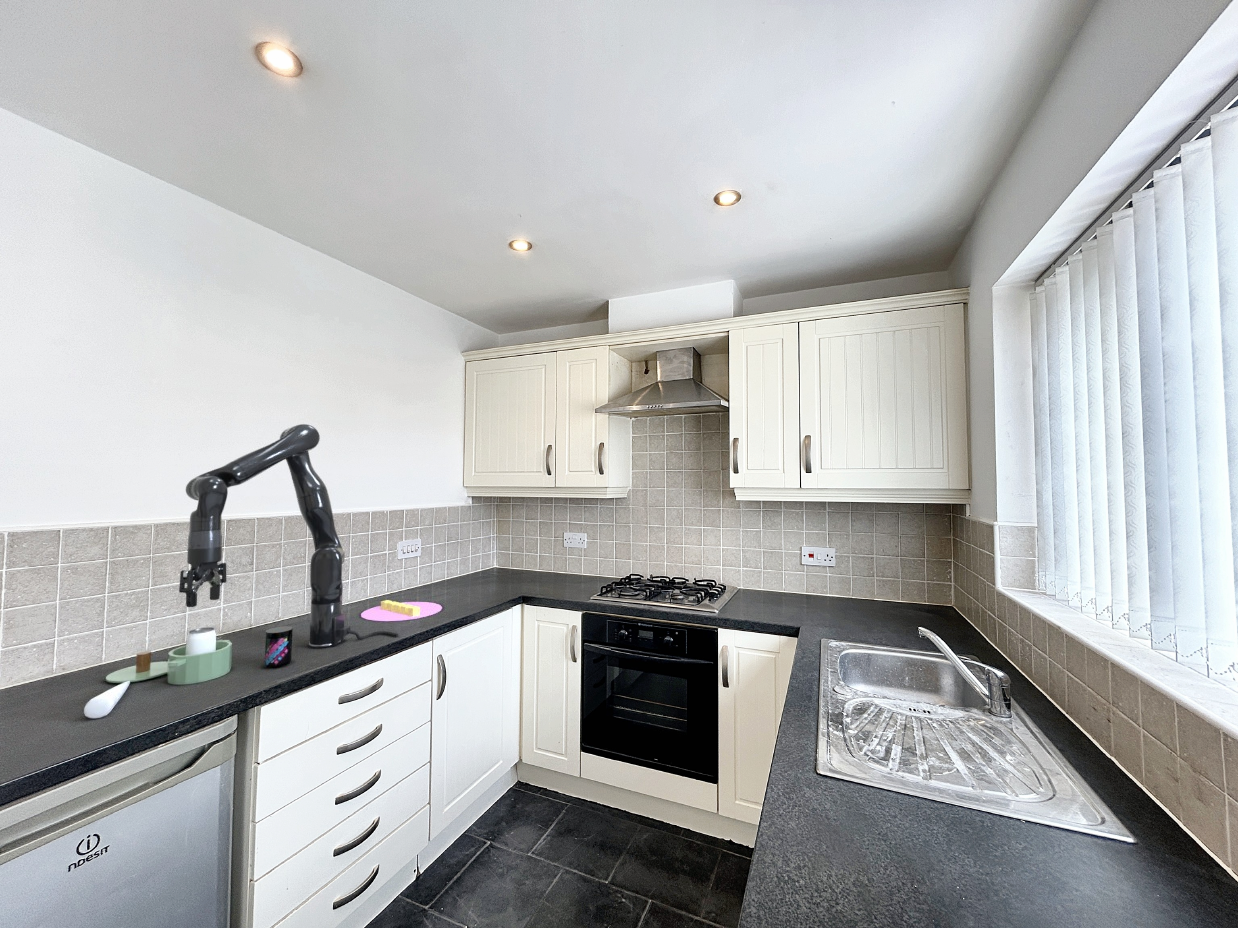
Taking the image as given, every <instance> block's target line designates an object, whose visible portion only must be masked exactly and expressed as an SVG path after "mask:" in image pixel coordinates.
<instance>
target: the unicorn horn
mask: <svg viewBox="0 0 1238 928" xmlns="http://www.w3.org/2000/svg"><path fill="white" fill-rule="evenodd" d="M130 684H131V682H130V681H127V682H124V683H119V684H118V685H116V686H114V687H112V688H109V689H107V690H106V691H104V692H102V693H100V694H98V695H96V696H94V697H93V698H91V699H89V701H87V703H85V706H84V708H83V714H84V716H85V717H86V718H87V719H88V718H89V719H94V720H95V719H100V718H104V717H106V716H107V715H108V714H109V713H111V712H112V710H113V708H114V707H115V706H116V705H117V704H118V703H119V701H120V700H121V698H122V697H123V696H124V694H125V693H126V691H127V689H128V688H129V686H130Z"/></svg>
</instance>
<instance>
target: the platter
mask: <svg viewBox="0 0 1238 928" xmlns="http://www.w3.org/2000/svg"><path fill="white" fill-rule="evenodd" d="M442 609H443V606H442V605H441V604H439V603H435V602H428V601H403V602H402V601H401V602H399V601H393V600H390V599H387V600H382V601H380V605H377V606H374V607H371V608H368V609H365V610H364V611H363V612H361V613H360V617H361V619H364V620H367V621H374V622H402V621H409V620H416V619H421V618H426V617H429V616H433V615H435V614H438V613H439V612H441V611H442Z"/></svg>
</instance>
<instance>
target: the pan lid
mask: <svg viewBox="0 0 1238 928" xmlns="http://www.w3.org/2000/svg"><path fill="white" fill-rule="evenodd" d="M135 657H136V658H135V665H132V666H128V667H124V668H120V669H117V670H115V671H112V672H111V673H109V674H107V675H106V677H105V681H106V682H108V683H114V684H122V683H124V682H127V681H130V683H133V682H140V681H146V680H149V679H154V678H157V677H160V676H164V675H167V667H168V661H153V662H152V651H151V650H147V651H146V650H145V651H140V652H137V653H136V656H135Z"/></svg>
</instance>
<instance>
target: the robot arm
mask: <svg viewBox="0 0 1238 928" xmlns="http://www.w3.org/2000/svg"><path fill="white" fill-rule="evenodd" d="M320 439H321V436H320V432H319V431H318V429H317V428H316V427H314V426H313V425H310V424H307V423H306V424H305V423H302V424H296V425H294V426H291V427H288V428H286V429H284V430H283V431H282V432H281V433H280V434H279V438H278V439H277V440H276V441H273V442H272V443H270V444H267V445H265V446H263V447H260V448H258V449H256V450H252V451H250V452H249V453H246V454H244V455H242V456H240V457H238V458H235V459H234V460H232V461H230V462H228V463H226V464H225V465H222V466H220V467H218V468H215V469H212V470H210V471H207V472H204V473H201V474H199V475H196V476H195V477H194V478H192V479H190V481H188V483H187V484H186V485H185V493H186V495H187V496H188V497H189V498H190V499H192V500H195V501H198V502H197V506H196V509H195V510H193V511H192V512H191V513H190V515H189V531H188V532H189V533H188V537H187V555H186V556H187V557H186V558H187V559H186V562H187V564H188V565H190V569H182V570H180V575H179V586H178V592H179V593H180V594H181V593H182V594H185V606H186V608H195V607H197V605H198V590H199V589H200V587H202V586H203V584H204V583H208V584H209V585H210V587H209V600H210V601H217V600H220V596H221V587H222V585H223V584H226V582H227V563H226V562H221V561H222V560H223V532H222V525H223V524H222V521H223V518H222V515H223V512H224V510H225V507H226V506H225V505H226V502H227V499H228V495H229V491H228V490H229V488H231V487H235V486H240V485H242V484H245V483H246V482H249V481H250V480H252V479H253V478H255V477H257V476H258V475H260V474H262V473H264V472H266V471H267V470H269V469H271V468H272V467H274V466H275V465H277V464H279V463H281V462H282V461H286V463H287V466H288V469H289V473H290V476H291V480H292V484H293V487H294V491H295V497H296V500H297V505H298V508H299V511H300V514H301V516H302V518H303V520H304V522H305V525H306V526H307V527H308V530H309V531H310V534H311V537H312V541H313V546H314V552H313V554H312V555H311V558H310V563H309V564H310V568H309V576H310V577H309V584H310V585H309V586H310V616H309V618H310V619H309V640H308V641H309V643H308V647H309V648H313V649H321V648H322V649H323V648H329V647H336V646H338V645H339V644H340V643H342V642H344V640H345V637H346V636H348V635H350V634H351V635H354V636H355V637H356V639H358V640H364V639H367V638H370V637H373V636H376V635H386V636H387V635H388V636H392V637H399V633H398V632H397V633H396V632H391V631H385V630H382V631H381V630H378V631H373V632H370V633H368V634H366V635H363V636H361V635H360V634H359V632H357V631H355V630H351V625H345V612H343V593H344V592H343V590H344V589H343V588H344V584H343V578H342V577H343V564H344V563H345V560H346V555H345V551H344V549H343V548H344V547H343V546H342V544H341V541H340V538H339V536H338V533H337V529H336V525H335V520H334V512H333V508H332V503H331V498H330V494H329V490H328V488H327V486H326V484H325V482H324V481H323V479H322V478H321V477H320V476H319V474H318V473H317V472H316V470H315V469H314V467H313V465H312V462H311V457H310V451H312V450H313V449H315V448H316V447H317V446H318V445H319V443H320V441H321V440H320Z"/></svg>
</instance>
